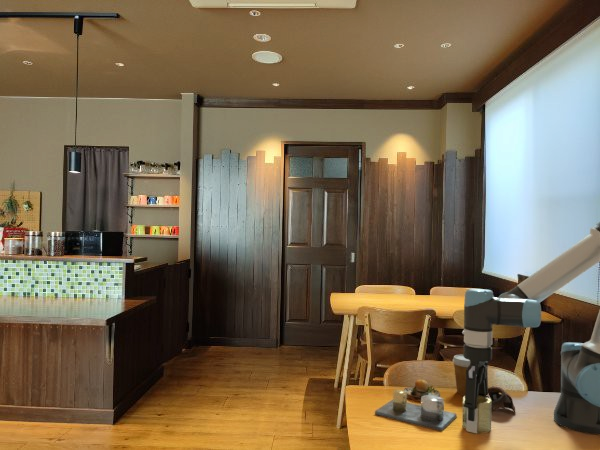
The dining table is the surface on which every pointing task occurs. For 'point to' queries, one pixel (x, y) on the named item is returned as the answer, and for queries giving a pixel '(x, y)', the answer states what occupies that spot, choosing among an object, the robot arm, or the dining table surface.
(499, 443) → the dining table surface
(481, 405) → the sleeve
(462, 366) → the disposable coffee cup
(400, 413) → the plate
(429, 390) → the burger
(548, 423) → the dining table surface
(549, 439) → the dining table surface
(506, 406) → the pottery mug
